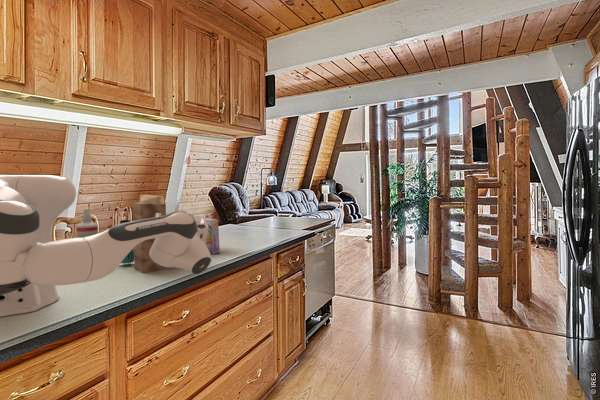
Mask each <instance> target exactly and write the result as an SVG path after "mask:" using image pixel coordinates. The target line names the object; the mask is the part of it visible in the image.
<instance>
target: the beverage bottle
mask: <svg viewBox="0 0 600 400" xmlns="http://www.w3.org/2000/svg"><path fill="white" fill-rule="evenodd" d="M130 221H131V220H130V219H121V220H120V221H119V224H121V223H125V222H130ZM130 263H134V248H133V249H132V250H131V251H130V252H129V253H128V255H127V256H126V257H125V258H124V259H123V261H122V262H121V263H120V264H130Z"/></svg>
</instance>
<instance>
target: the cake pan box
mask: <svg viewBox="0 0 600 400" xmlns="http://www.w3.org/2000/svg"><path fill="white" fill-rule="evenodd" d="M203 218H204V219H205V221H206V223H207V225H208V227H209V228H208V233H207V236H206V239H205V241H203V242H204V243H205V245H206V246H207V248H208V250H209V252H210V255H211V254H212V255H216V254H220V252H221V251H220V234H219V231H220V229H219V219H218V218H210V217H203Z"/></svg>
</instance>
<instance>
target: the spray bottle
mask: <svg viewBox="0 0 600 400" xmlns="http://www.w3.org/2000/svg"><path fill="white" fill-rule="evenodd" d="M90 211H91V209H90V208H84V209H83V211H82V212H83V213H82V214H83V215H82V219H81V223H79V224H76V227H75V228H76V238H80V237H87V236H92V235H95V234H98V233H99V229H98V228H99V225H98V223H95V222H92V215H91V212H90Z"/></svg>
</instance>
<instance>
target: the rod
mask: <svg viewBox="0 0 600 400" xmlns="http://www.w3.org/2000/svg"><path fill="white" fill-rule="evenodd" d="M139 202H143V203H150V204H156V205H160V204H164V203H165V196H161V195H151V194H140V195H139Z"/></svg>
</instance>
